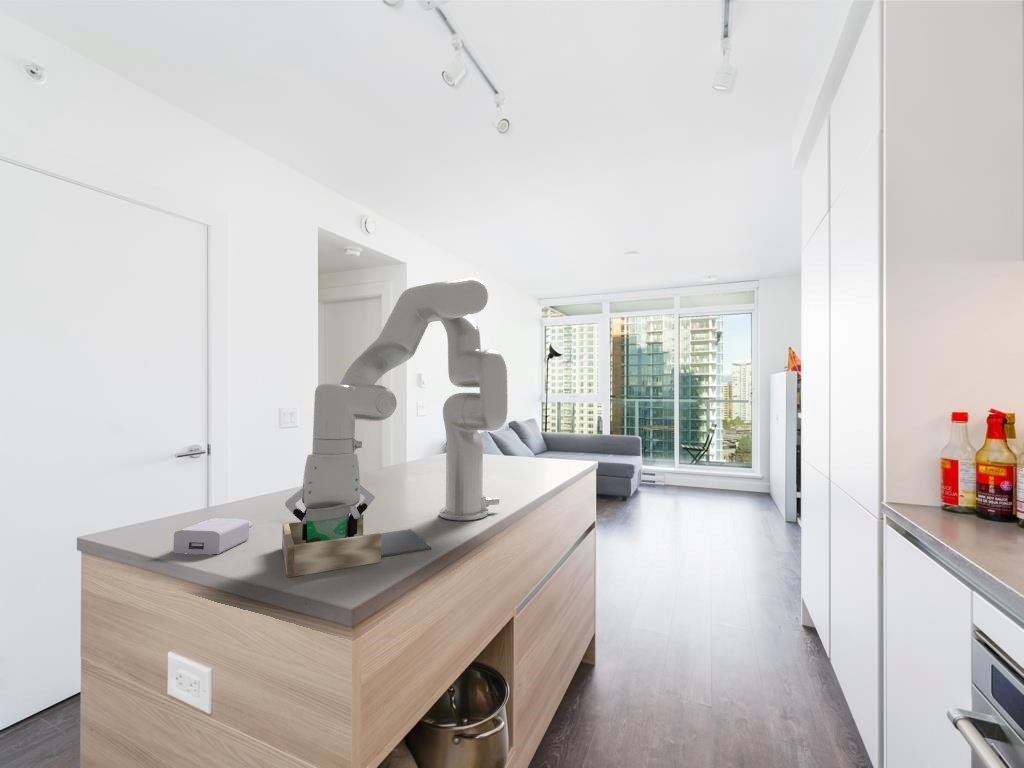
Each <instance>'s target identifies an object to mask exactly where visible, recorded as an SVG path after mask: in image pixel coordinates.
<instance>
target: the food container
mask: <svg viewBox="0 0 1024 768" xmlns="http://www.w3.org/2000/svg"><path fill="white" fill-rule="evenodd" d="M350 514H351V510H350V506H346V504H342V505H338V506H334V507H327V508H318V509H307V513H306V520H305V521H307V539H308V543H311V542H319V541H326V540H333V539H341V538H347V534H348V522H349V515H350Z"/></svg>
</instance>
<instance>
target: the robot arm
mask: <svg viewBox="0 0 1024 768" xmlns="http://www.w3.org/2000/svg"><path fill="white" fill-rule="evenodd" d="M488 301H489V293H488V289H487V287H486V285H485V283H484V282H483V281H481V280H480V279H478V278H476V277H468V278H467V277H466V278H462V279H456V280H455V279H454V280H449V281H440V282H432V283H426V284H422V285H421V284H420V285H417V286H416V285H415V286H412V287H409V288H407V289H405V290H404V291H403V292H402V293H401V294H400V295H399V297H398V299H397V301H396V302H395V306H394V307H393V309H392V311H391V313H390V315H389V317H388V318H387V320H386V322H385V324H384V326H383V328H382V330H381V332H380V334H379V336H378V337H377V339H376V340H375V341H373V342H372V343H370V345H369V346H368V347H366V349H365V350H364V351H363V352H362V353H361V354H360V355H359V356H358V357H357V358H356V359H355V360H354V361H353V362H352V363H351V364H350V366H349V367H348V369H347V370H346V372H345V374H344V375H343V377H342V379H341V381H340V383H322V384H319V385H318V386H317V387H316V388H315V391H314V407H313V409H314V410H313V424H312V425H313V427H312V428H313V429H312V430H313V432H312V451H311V452H312V453H311V454H308V455H307V457H306V461H305V466H304V472H303V473H304V474H303V478H302V488H301V489H299V490H298V491H297V492H295V493H294V494H293V495H292V496H291V497H289V498H288V499H286V501H285V502H284V505H285V508H286V509H288V510H289V511H290V513H291V514H293V516H294V517H296V518H297V519H298V521H301V522H302V523H303V527H302V540H306V543H308V539H307V521H305V520H306V513H307V509H318V508H327V507H334V506H338V505H342V504H346V506H350V510H351V513H350V514H349V515H350V516H349V522H348V534H347V536H348V537H354V534H357V523H358V518H359V517H360V515H361V514H364V512H365V511H366V510H368V507H369V506H370V505H371V504H372V502H374V500H375V497H376V496H375V495H374V494H372V493H371V492H370V491H369V490H367V489H366V488H365V487H363V486H362V485H361V479H360V478H361V476H360V465H359V457H358V454H357V453H355V451H356V450H358V449H361V448H362V446H363V441H361V440H356V438H355V435H356V432H355V431H356V421H364V422H382V421H385V420H387V419H388V418H390V417H391V416H392V415H393V414H394V413H395V410H396V408H397V404H398V403H397V398H396V396H395V394H394V391H392V390H391V389H389V388H388V387H386V386H383V385H379V384H376V383H377V382H378V381H379V380H380V379H381V378H382V377H384V375H386V373H389V371H391V370H393V369H395V368H397V367H399V366H402V364H404V363H405V362H408V361H409V360H410V359H412V357H414V356H415V354H416V351H417V349H418V347H419V345H420V343H421V340H422V339H423V336H424V334H425V333H426V330H427V328H428V326H429V324H430V323H434V322H439V321H440V323H441V324H442V325H443V327H444V330H445V332H446V335H447V365H448V366H447V368H448V369H447V370H448V373H447V374H448V377H449V381H450V383H451V384H452V385H453V386H455V387H457V388H468V389H469V388H473V389H474V388H479V392H457V393H454V394H453V395H450V396H449V397H447V399H446V400H445V401H444V403H443V408H442V417H443V423H444V428H445V440H446V446H445V447H446V450H445V451H446V455H445V456H446V458H445V462H446V463H445V465H446V467H445V507H442V508H441V509H439V512H438V513H439V514H438V515H439V517H441V518H443V519H445V520H451V521H474V520H480V519H483V518H485V517H487V516H488V515H489V509H488V508H487V507H489V506H496V505H499V504H500V497H498V496H497V497H496V496H495V497H490V496H485V495H483V492H484V491H483V487H484V486H483V483H484V481H483V475H484V473H483V472H484V465H483V464H484V445H483V440H482V438H481V436H480V434H479V431H485V432H486V431H488V432H493V431H498V430H500V429H501V428H502V427H503V426H504V425H505V423H506V421H507V417H508V370H507V368H508V367H507V364H506V361H505V359H504V357H503V356H502V355H501V353H499V352H498V351H496V350H494V349H482V348H481V347H482V346H481V334H480V329H479V327H478V324H477V322H476V321H475V320H474V318H473V316H471V315H474V314H478V313H480V312H482V311H483V310H484V309H485V307H486V306H487V304H488ZM361 495H362V496H363V497H364V499H363V500H362V501H361V502H360V499H361ZM300 500H301V501H302V502H301V503H302V504H303V506H304V510H303V511H302V509H300V508H299V507H298V506H297V505H296V504H297V502H299V501H300ZM358 504H359V505H358ZM356 505H357V506H356Z"/></svg>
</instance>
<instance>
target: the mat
mask: <svg viewBox="0 0 1024 768" xmlns="http://www.w3.org/2000/svg"><path fill="white" fill-rule="evenodd" d="M380 533H381V534H382V537H381V558H384V557H390V556H397V555H402V554H408V553H407V552H410V553H413V551H416V552H419V551H418V550H422V551H426V550H425V549H428V550H432V546H431V545H429V543H427V542H426V541H425V540H424V539H422V538H421V537H420V536H419V535H418V534H417V533H415V532H414V531H413V530H412V529H411V528H409V529H408V528H407V529H403V530H394V531H387V532H380Z"/></svg>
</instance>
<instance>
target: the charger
mask: <svg viewBox="0 0 1024 768" xmlns="http://www.w3.org/2000/svg"><path fill="white" fill-rule="evenodd" d="M253 526H254V524H253V523H252V520H247V519H244V518H221V517H215V518H213V517H212V518H210V519H209V518H208V519H206V520H203V521H201V522H198V523H196V524H193V525H190V526H186V527H184V528H182V529H179V530H177V531H175V532H173V547H172V548H173V553H174V552H175V553H174V554H176V553H188V554H187V555H198V554H217V555H219V554H221V553H223V552H225V551H227V550H229V549H232V548H235V546H238V545H240V544H242V543H244V542H247V541H248V540H249V537H250V535H249V534H250V533H249V532H250V528H252V527H253Z"/></svg>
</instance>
